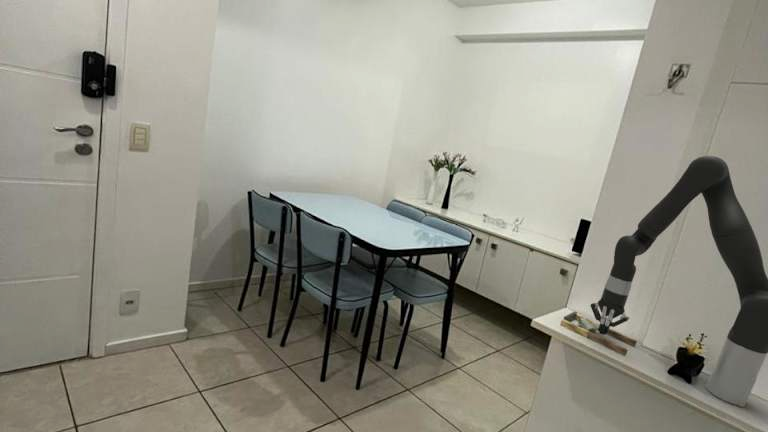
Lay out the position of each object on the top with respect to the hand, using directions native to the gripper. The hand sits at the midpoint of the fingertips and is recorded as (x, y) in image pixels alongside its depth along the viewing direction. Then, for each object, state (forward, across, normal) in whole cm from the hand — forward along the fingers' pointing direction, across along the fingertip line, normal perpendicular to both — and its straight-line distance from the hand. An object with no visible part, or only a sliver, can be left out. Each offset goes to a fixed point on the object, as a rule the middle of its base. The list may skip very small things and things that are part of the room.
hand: (601, 333), depth 144 cm
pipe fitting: (+2, +4, 0) cm, 4 cm away
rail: (+1, +1, 0) cm, 2 cm away
